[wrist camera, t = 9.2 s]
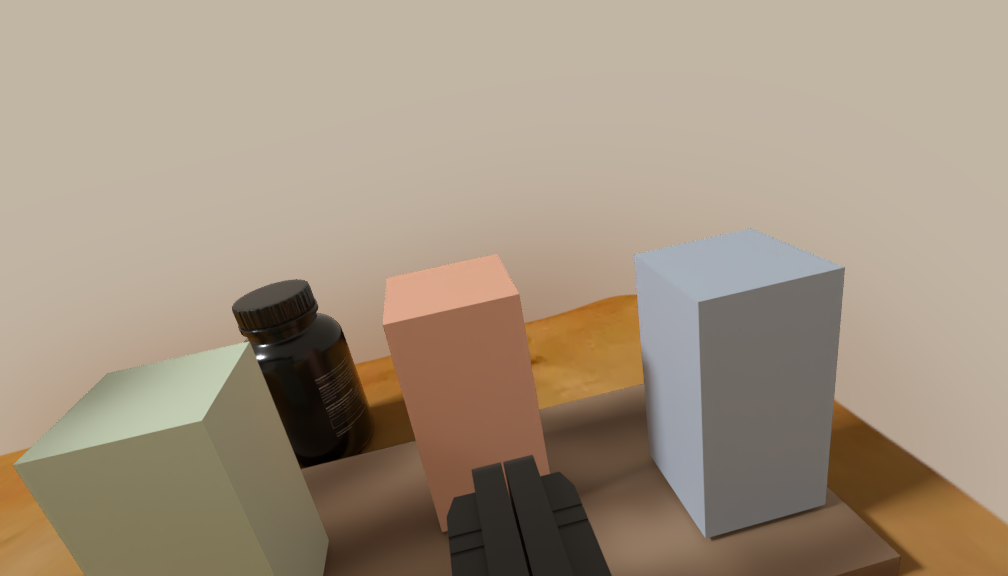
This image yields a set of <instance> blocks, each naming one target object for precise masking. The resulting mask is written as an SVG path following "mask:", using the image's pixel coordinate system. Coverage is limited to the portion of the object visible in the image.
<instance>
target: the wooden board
mask: <svg viewBox="0 0 1008 576" xmlns="http://www.w3.org/2000/svg"><path fill="white" fill-rule="evenodd" d="M539 413H540V419H541V425H542V430H543V436H544V442H545V448H546V454H547V460H548V465H549V471H550V474H552V473H556V472H560V473H562V474H563V475H564V476H565V477H566V478H567V479H568V480H569V481H570V482H571V483H573V484H574V485H575V488H576V490H577V492H578V495H579V497H580V500H581V502H582V506H583V507H584V509H585V512H586V514H587V517H588V520H589V522H590V524H591V526H592V529H593V531H594V534H595V536H596V538H597V541H598V543H599V546H600V548H601V551H602V553H603V555H604V558H605V560H606V563H607V565H608V567H609V570H610V572H611V575H612V576H898V570H899V564H900V558H901V556H900V555H899V554H898V553H897V552H896V551H895V550H894V549H893V548H892V547H891V546H890V545H889V544H888V543H887V542H885V541H884V540H883V539H882V538H881V537H880V536H879V535H878V534H877V533H876V532H875V531H874V530H873V529H872V528H871V527H870V526H869V525H868V524H867V523H865V522H864V521H863V520H862V519H861V518H860V517H859V516H858V515H857V514H856V513H855V512H854V511H853V510H852V509H851V508H850V507H849V506H848V505H846V504H845V503H844V502H843V501H842V500H841V499H840V498H839V497H838V496H837V495H836V494H835V493H834V492H833V491H832V490H831V489H830V488H829V487H828V486H827V489H826V502H825V505H822V506H818V507H815V508H811V509H808V510H804V511H801V512H797V513H794V514H790V515H787V516H783V517H780V518H776V519H773V520H769V521H766V522H762V523H759V524H755V525H751V526H748V527H744V528H741V529H737V530H734V531H730V532H727V533H723V534H720V535H716V536H713V537H709V538H705V537H704V535H703V534H702V532H701V531H700V529H699V528H698V526H697V525H696V523H695V522H694V520H693V519H692V517H691V516H690V514H689V513H688V511H687V510H686V508H685V507H684V505H683V504H682V502H681V501H680V499H679V498H678V496H677V495H676V493H675V492H674V490H673V489H672V487H671V486H670V484H669V483H668V481H667V480H666V478H665V477H664V475H663V474H662V472H661V471H660V469H659V468H658V466H657V465H656V463H655V462H654V460H653V459H652V457H651V456H650V451H649V438H648V426H647V413H646V400H645V388H644V384H640V385H636V386H632V387H628V388H624V389H620V390H616V391H612V392H608V393H604V394H600V395H596V396H592V397H588V398H584V399H580V400H576V401H572V402H568V403H564V404H560V405H556V406H552V407H548V408H544V409H540V410H539ZM301 472H302V474H303V477H304V479H305V482H306V484H307V487H308V489H309V492H310V494H311V497H312V499H313V502H314V504H315V507H316V509H317V512H318V514H319V517H320V519H321V522H322V524H323V527H324V529H325V532H326V534H327V537H328V539H329V543H328V549H327V555H326V561H325V567H324V573H323V576H452V569H451V556H450V548H449V537H448V531H445V532H442V530H441V527H440V523H439V520H438V516H437V513H436V509H435V506H434V502H433V499H432V495H431V492H430V488H429V485H428V481H427V478H426V474H425V471H424V467H423V464H422V460H421V457H420V454H419V450H418V447H417V443H416V441H412V442H408V443H404V444H400V445H396V446H392V447H388V448H384V449H380V450H376V451H372V452H368V453H364V454H360V455H356V456H352V457H348V458H344V459H340V460H336V461H332V462H328V463H324V464H320V465H316V466H312V467H308V468H304V469H301Z"/></svg>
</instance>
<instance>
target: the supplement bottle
mask: <svg viewBox="0 0 1008 576" xmlns="http://www.w3.org/2000/svg"><path fill="white" fill-rule="evenodd" d="M317 310H318V304H317V301H316V300H315V299H314V297H313V293H312V291H311V288H310V286H309V284H308V282H307V281H305V280H297V279H296V280H288V281H282V282H277V283H274V284H270V285H267V286H264V287H261V288H259V289H256V290H254V291H252V292H250V293H248V294H246V295H244V296H243V297H241V298H240V299H239V300H237V301H236V302H235V303H234V304H233V306H232V311H233V313H234V316H235V318H236V320H237V323H238V328H239V330H240V332H241V334H242V335H243V336H245V337H248V338H247V339H246V340H245V341H244V342H243V343H245V342H249V341H250V344H251V346H252V349H253V351H254V354H255V356H256V359H257V361H258V364H259V366H260V369H261V371H262V374H263V376H264V379H265V381H266V384H267V386H268V389H269V391H270V394H271V396H272V399H273V401H274V404H275V406H276V409H277V411H278V414H279V416H280V419H281V421H282V424H283V426H284V429H285V431H286V434H287V436H288V439H289V441H290V444H291V446H292V449H293V451H294V454H295V456H296V459H297V462H298V464H299V467H300V469H304V468H308V467H312V466H316V465H320V464H324V463H328V462H332V461H336V460H340V459H344V458H348V457H352V456H354V455H356V454H357V453H358V452H359V451H360V450H361V449H362V448H363V447H364V446H365V445H366V443H367V442H368V441H369V439H370V437H371V435H372V432H373V428H374V421H373V416H372V413H371V410H370V407H369V404H368V401H367V398H366V396H365V393H364V390H363V387H362V384H361V381H360V379H359V376H358V373H357V370H356V367H355V364H354V362H353V359H352V356H351V353H350V350H349V347H348V344H347V342H346V339H345V336H344V333H343V331H342V328H341V326H340V325H339V323H338V322H337V321H336V320H334V319H333V318H332V317H330V316H328V315H325V314H321V313H316V312H317Z"/></svg>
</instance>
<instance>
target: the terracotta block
mask: <svg viewBox="0 0 1008 576" xmlns="http://www.w3.org/2000/svg"><path fill="white" fill-rule="evenodd" d="M383 327H384V331H385V334H386V338H387V341H388V345H389V349H390V352H391V356H392V359H393V363H394V366H395V370H396V373H397V377H398V380H399V384H400V387H401V391H402V394H403V398H404V401H405V405H406V408H407V412H408V415H409V419H410V422H411V426H412V429H413V433H414V436H415V440H416V443H417V447H418V450H419V454H420V457H421V460H422V464H423V467H424V471H425V474H426V478H427V481H428V485H429V488H430V492H431V495H432V499H433V502H434V506H435V509H436V513H437V516H438V520H439V523H440V527H441V530H442V532H445V531H448V528H447V514H448V512H449V509H450V506H451V504H452V501H453V498H454V497H458V496H462V495H466V494H470V493H474V492H475V488H474V482H473V477H472V470H471V469H475V468H479V467H483V466H487V465H491V464H495V463H499V462H501V465H502V469H503V473H504V477H505V481H506V485H507V480H506V475H505V469H504V464H503V462H504V461H508V460H512V459H516V458H521V457H525V456H529V455H533V457H534V459H535V462H536V465H537V468H538V471H539V474H540V476H544V475H548V474H550V471H549V465H548V460H547V454H546V448H545V442H544V436H543V430H542V425H541V419H540V413H539V407H538V401H537V396H536V390H535V384H534V378H533V372H532V366H531V361H530V355H529V349H528V343H527V337H526V332H525V326H524V320H523V315H522V308H521V302H520V297H519V293H518V291H517V289H516V288H515V286H514V284H513V282H512V280H511V278H510V277H509V275H508V273H507V271H506V269H505V267H504V266H503V264H502V262H501V260H500V258H499V257H498V255H497V254H494V255H490V256H485V257H481V258H476V259H472V260H467V261H462V262H458V263H453V264H448V265H444V266H439V267H435V268H430V269H426V270H421V271H417V272H412V273H408V274H403V275H398V276H394V277H389V278H387V284H386V294H385V305H384V316H383ZM507 489H508V485H507ZM508 493H509V490H508ZM509 497H510V496H509Z"/></svg>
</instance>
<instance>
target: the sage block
mask: <svg viewBox="0 0 1008 576" xmlns="http://www.w3.org/2000/svg"><path fill="white" fill-rule="evenodd" d="M13 466H14V468H15V470H16V471H17V473H18V474H19V476H20V477H21V479H22V480H23V482H24V483H25V485H26V486H27V488H28V489H29V491H30V492H31V494H32V495H33V497H34V498H35V500H36V501H37V503H38V504H39V506H40V507H41V509H42V510H43V512H44V513H45V515H46V517H47V518H48V520H49V521H50V523H51V524H52V526H53V527H54V529H55V530H56V532H57V533H58V535H59V536H60V538H61V539H62V541H63V542H64V544H65V545H66V547H67V548H68V550H69V551H70V553H71V554H72V556H73V557H74V559H75V561H76V562H77V564H78V565H79V567H80V568H81V570H82V571H83V573H84V574H85V576H323V573H324V567H325V561H326V555H327V549H328V543H329V539H328V537H327V534H326V532H325V529H324V527H323V524H322V522H321V519H320V517H319V514H318V512H317V509H316V507H315V504H314V502H313V499H312V497H311V494H310V492H309V489H308V487H307V484H306V482H305V479H304V477H303V474H302V472H301V469H300V467H299V464H298V462H297V459H296V456H295V454H294V451H293V449H292V446H291V444H290V441H289V439H288V436H287V434H286V431H285V429H284V426H283V424H282V421H281V419H280V416H279V414H278V411H277V409H276V406H275V404H274V401H273V399H272V396H271V394H270V391H269V389H268V386H267V384H266V381H265V379H264V376H263V374H262V371H261V369H260V366H259V364H258V361H257V359H256V356H255V354H254V351H253V349H252V346H251V344H250V341H249V342H245V343H241V344H236V345H232V346H227V347H223V348H218V349H214V350H209V351H205V352H201V353H196V354H191V355H187V356H183V357H178V358H174V359H170V360H165V361H161V362H156V363H151V364H147V365H143V366H139V367H134V368H129V369H125V370H121V371H116V372H111V373H107V374H106V375H105V376H104V377H103V378H102V379H101V380H100V381H99V382H98V383H97V384H96V385H95V386H94V387H93V388H92V389H91V390H90V391H89V392H88V393H87V394H86V395H85V396H84V397H83V398H82V399H81V400H79V401H78V402H77V403H76V404H75V405H74V406H73V407H72V408H71V409H70V410H69V411H68V412H67V413H66V414H65V415H64V416H63V417H62V418H61V419H60V420H59V421H58V422H57V423H56V424H55V425H54V426H53V427H52V428H51V429H50V430H49V431H48V432H47V433H46V434H45V435H43V436H42V437H41V438H40V439H39V440H38V441H37V443H35V444H34V445H33V446H32V447H31V448H30V449H29V450H28V451H27V452H26V453H25V454H24V455H23V456H22V457H21V458H20V459H19V460H18V461H17V462H16V463H15V464H14V465H13Z"/></svg>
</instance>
